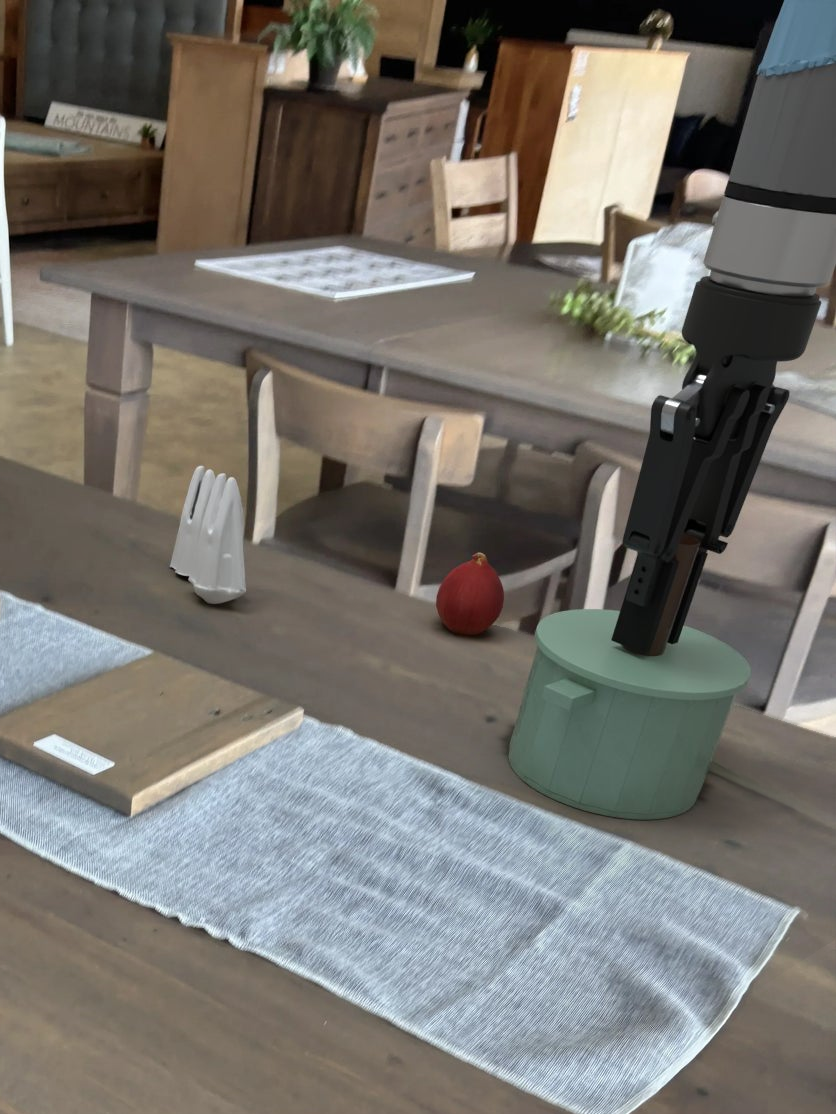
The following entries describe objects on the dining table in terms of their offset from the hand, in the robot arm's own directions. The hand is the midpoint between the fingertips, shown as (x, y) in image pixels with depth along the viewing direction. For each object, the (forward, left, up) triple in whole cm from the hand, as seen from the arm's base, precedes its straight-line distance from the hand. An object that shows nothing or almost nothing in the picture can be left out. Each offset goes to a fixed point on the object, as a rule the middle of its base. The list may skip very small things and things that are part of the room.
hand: (644, 640), depth 101 cm
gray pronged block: (+43, +1, -11) cm, 44 cm away
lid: (0, 0, -1) cm, 1 cm away
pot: (0, 0, -11) cm, 11 cm away
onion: (+23, -12, -11) cm, 28 cm away
